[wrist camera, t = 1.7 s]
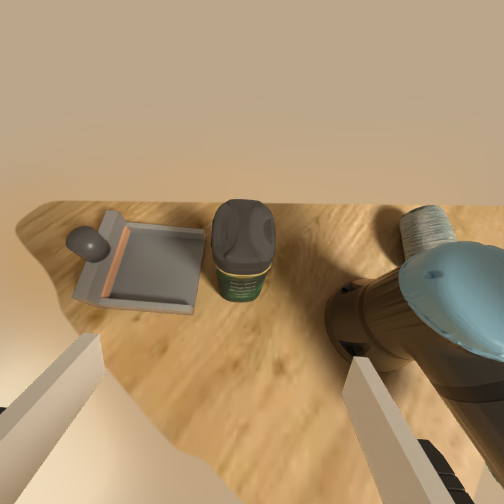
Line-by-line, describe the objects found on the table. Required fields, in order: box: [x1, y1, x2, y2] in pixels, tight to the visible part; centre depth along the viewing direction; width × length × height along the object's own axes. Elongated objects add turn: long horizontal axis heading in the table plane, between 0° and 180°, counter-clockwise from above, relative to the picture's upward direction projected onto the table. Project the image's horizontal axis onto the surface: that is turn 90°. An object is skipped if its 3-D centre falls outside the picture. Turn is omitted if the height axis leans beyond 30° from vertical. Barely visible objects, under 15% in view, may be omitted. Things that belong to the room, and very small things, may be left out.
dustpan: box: [66, 210, 206, 315], centre depth 38 cm, size 17×15×11 cm
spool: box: [399, 205, 457, 260], centre depth 45 cm, size 14×10×10 cm
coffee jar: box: [211, 199, 276, 302], centre depth 35 cm, size 10×8×19 cm
